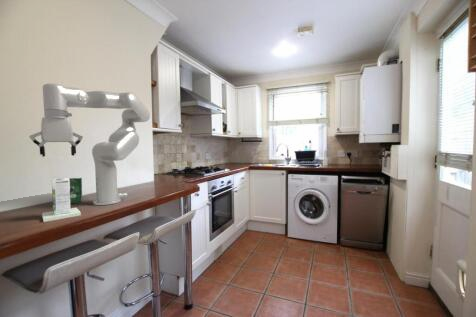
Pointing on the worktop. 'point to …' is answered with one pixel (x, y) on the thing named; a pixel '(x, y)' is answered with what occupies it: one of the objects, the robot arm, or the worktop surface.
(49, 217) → the sage board
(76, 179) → the coffee box
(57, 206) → the syrup box
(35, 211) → the worktop surface
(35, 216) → the worktop surface
